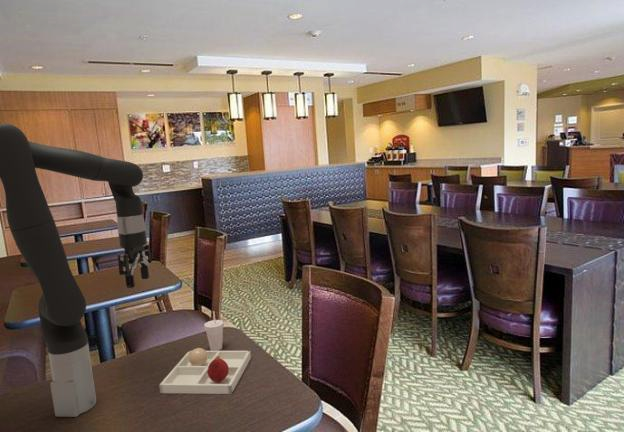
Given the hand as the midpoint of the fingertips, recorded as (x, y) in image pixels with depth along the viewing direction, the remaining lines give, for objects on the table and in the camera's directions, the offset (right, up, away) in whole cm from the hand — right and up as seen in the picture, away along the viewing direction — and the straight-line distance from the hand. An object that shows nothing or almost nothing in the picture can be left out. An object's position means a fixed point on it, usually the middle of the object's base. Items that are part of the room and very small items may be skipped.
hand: (138, 282), depth 129 cm
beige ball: (+18, -26, +3) cm, 32 cm away
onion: (+26, -27, -8) cm, 39 cm away
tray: (+22, -28, -2) cm, 35 cm away
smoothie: (+20, -25, +14) cm, 36 cm away
